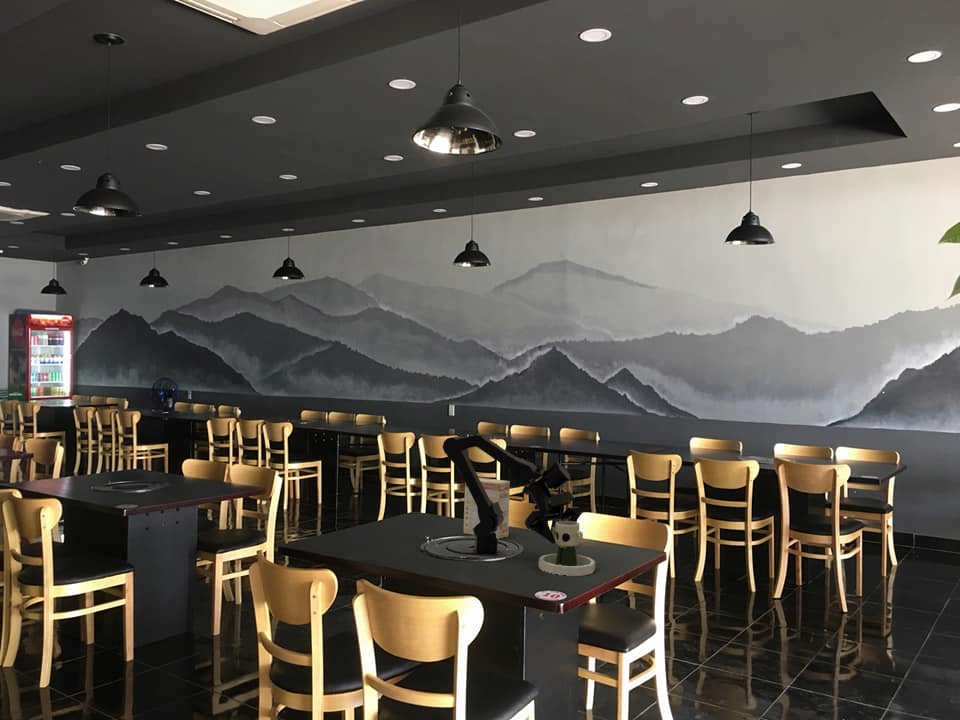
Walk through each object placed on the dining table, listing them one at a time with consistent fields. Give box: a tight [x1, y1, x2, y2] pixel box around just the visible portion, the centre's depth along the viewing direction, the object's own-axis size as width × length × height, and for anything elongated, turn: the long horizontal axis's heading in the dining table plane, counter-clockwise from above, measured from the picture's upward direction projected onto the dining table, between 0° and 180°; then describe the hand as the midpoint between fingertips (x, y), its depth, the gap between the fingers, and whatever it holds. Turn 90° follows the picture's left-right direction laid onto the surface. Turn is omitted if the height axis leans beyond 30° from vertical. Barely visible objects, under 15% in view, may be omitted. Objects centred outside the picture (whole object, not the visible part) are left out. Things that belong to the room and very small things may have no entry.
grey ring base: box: [538, 553, 596, 577], centre depth 223 cm, size 16×16×2 cm
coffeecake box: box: [462, 476, 511, 540], centre depth 266 cm, size 15×7×20 cm, turn 54°
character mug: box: [551, 520, 584, 566], centre depth 223 cm, size 11×7×13 cm, turn 48°
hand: (566, 541), depth 223 cm, fingers open, 9 cm apart
